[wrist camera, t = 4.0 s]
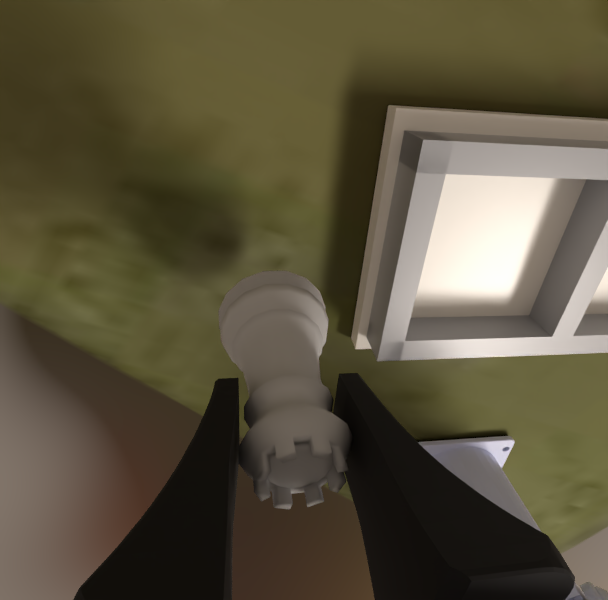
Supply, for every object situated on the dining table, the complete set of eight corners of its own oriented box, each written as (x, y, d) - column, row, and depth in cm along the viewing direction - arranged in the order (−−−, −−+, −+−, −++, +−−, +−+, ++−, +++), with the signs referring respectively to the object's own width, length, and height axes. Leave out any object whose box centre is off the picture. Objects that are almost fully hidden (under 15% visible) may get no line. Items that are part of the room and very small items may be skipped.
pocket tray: (661, 329, 26) (706, 359, 24) (351, 338, 23) (365, 373, 21) (788, 130, 20) (867, 142, 18) (388, 105, 17) (414, 114, 14)
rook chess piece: (344, 296, 18) (417, 454, 11) (283, 365, 19) (314, 541, 12) (258, 244, 16) (283, 397, 9) (197, 325, 17) (181, 508, 10)
